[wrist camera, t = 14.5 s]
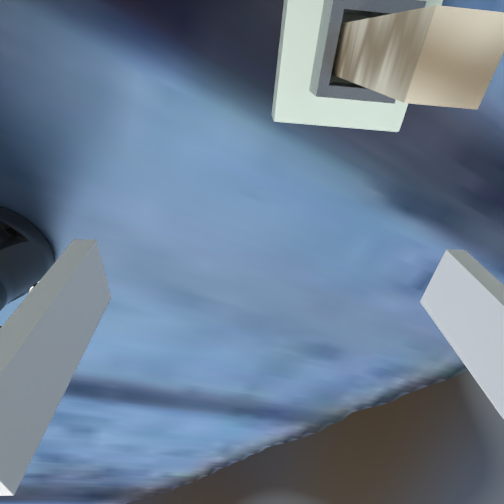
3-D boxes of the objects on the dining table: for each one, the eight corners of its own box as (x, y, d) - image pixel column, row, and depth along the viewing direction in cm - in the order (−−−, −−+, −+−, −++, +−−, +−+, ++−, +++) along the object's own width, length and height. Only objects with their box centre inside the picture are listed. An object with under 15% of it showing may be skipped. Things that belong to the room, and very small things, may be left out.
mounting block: (385, 124, 37) (398, 132, 34) (271, 114, 37) (274, 121, 33) (432, -30, 30) (456, -39, 26) (289, -46, 29) (294, -58, 25)
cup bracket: (379, 97, 32) (394, 103, 29) (308, 90, 32) (316, 96, 28) (405, 5, 28) (426, 1, 25) (324, -3, 27) (334, -9, 24)
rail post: (368, 76, 31) (477, 109, 16) (329, 73, 31) (404, 102, 16) (380, 28, 29) (521, 14, 14) (338, 23, 29) (436, 5, 14)
